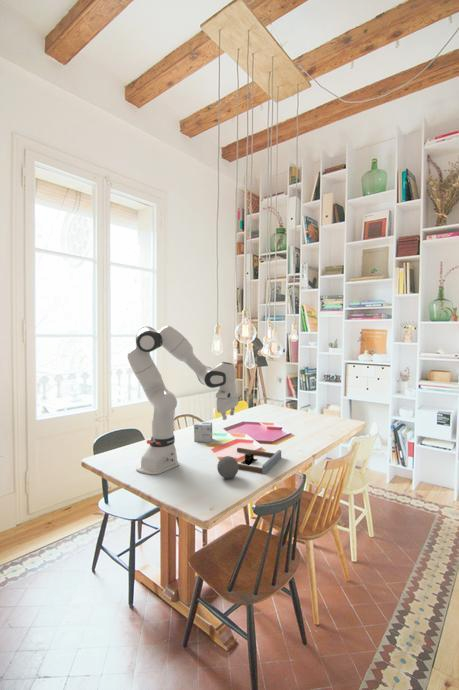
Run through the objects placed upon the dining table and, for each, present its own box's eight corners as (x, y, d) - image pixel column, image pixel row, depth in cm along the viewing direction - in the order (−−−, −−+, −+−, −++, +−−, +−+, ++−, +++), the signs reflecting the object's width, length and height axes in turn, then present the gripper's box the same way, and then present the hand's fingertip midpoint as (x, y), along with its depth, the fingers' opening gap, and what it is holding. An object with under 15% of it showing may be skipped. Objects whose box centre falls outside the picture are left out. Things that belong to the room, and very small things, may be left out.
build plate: (249, 468, 186) (248, 459, 186) (236, 465, 190) (236, 456, 190) (260, 460, 196) (260, 451, 196) (249, 457, 200) (249, 449, 200)
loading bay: (265, 474, 176) (265, 466, 176) (218, 465, 188) (218, 457, 187) (281, 457, 198) (281, 450, 197) (238, 450, 209) (238, 443, 209)
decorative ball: (241, 480, 170) (241, 459, 169) (221, 483, 167) (221, 462, 166) (234, 472, 179) (233, 452, 179) (214, 475, 176) (214, 454, 175)
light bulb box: (212, 438, 232) (212, 421, 231) (211, 442, 225) (210, 424, 224) (196, 438, 233) (195, 421, 232) (193, 441, 226) (193, 424, 225)
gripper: (230, 388, 208) (231, 412, 209) (214, 395, 189) (214, 421, 190) (240, 388, 205) (241, 413, 206) (225, 396, 187) (225, 422, 188)
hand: (228, 417), depth 198 cm, fingers open, 8 cm apart
